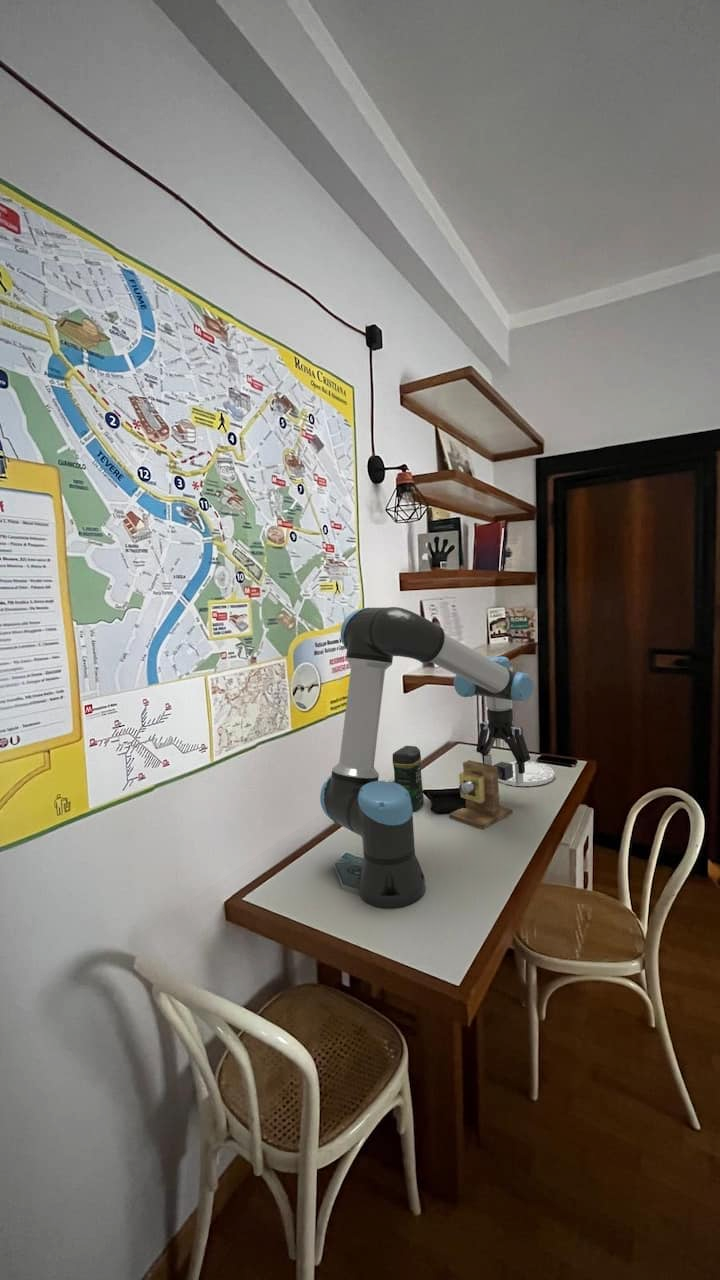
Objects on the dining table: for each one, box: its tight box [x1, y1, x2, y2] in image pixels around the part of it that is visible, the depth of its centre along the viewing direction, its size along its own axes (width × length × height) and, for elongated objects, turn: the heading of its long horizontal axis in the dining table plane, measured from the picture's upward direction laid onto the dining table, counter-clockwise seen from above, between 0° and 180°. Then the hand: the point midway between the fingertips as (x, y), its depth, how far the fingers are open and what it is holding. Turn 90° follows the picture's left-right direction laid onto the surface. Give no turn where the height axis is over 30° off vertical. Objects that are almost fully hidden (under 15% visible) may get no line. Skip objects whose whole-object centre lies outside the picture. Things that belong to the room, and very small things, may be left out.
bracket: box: [448, 759, 513, 830], centre depth 156 cm, size 14×12×15 cm
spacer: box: [458, 771, 486, 803], centre depth 154 cm, size 2×7×7 cm, turn 40°
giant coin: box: [498, 761, 555, 787], centre depth 185 cm, size 20×20×3 cm
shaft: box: [458, 761, 513, 795], centre depth 158 cm, size 21×4×4 cm, turn 130°
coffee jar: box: [392, 745, 425, 812], centre depth 167 cm, size 10×8×19 cm
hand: (503, 779), depth 164 cm, fingers open, 10 cm apart
